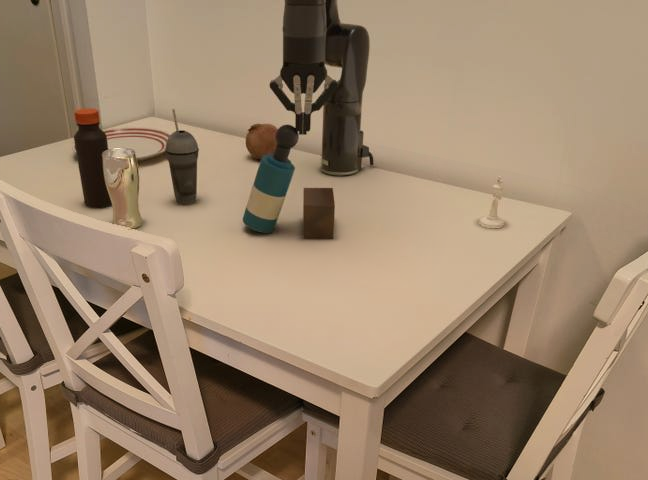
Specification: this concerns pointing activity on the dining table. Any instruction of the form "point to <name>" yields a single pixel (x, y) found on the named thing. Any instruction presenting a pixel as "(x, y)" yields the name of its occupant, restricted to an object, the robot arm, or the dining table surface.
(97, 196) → the vinegar
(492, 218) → the chess piece
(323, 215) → the walnut block
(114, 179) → the beer glass
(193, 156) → the beverage cup
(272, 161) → the striped banded cylinder
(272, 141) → the onion
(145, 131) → the dinner plate
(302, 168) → the dining table surface
